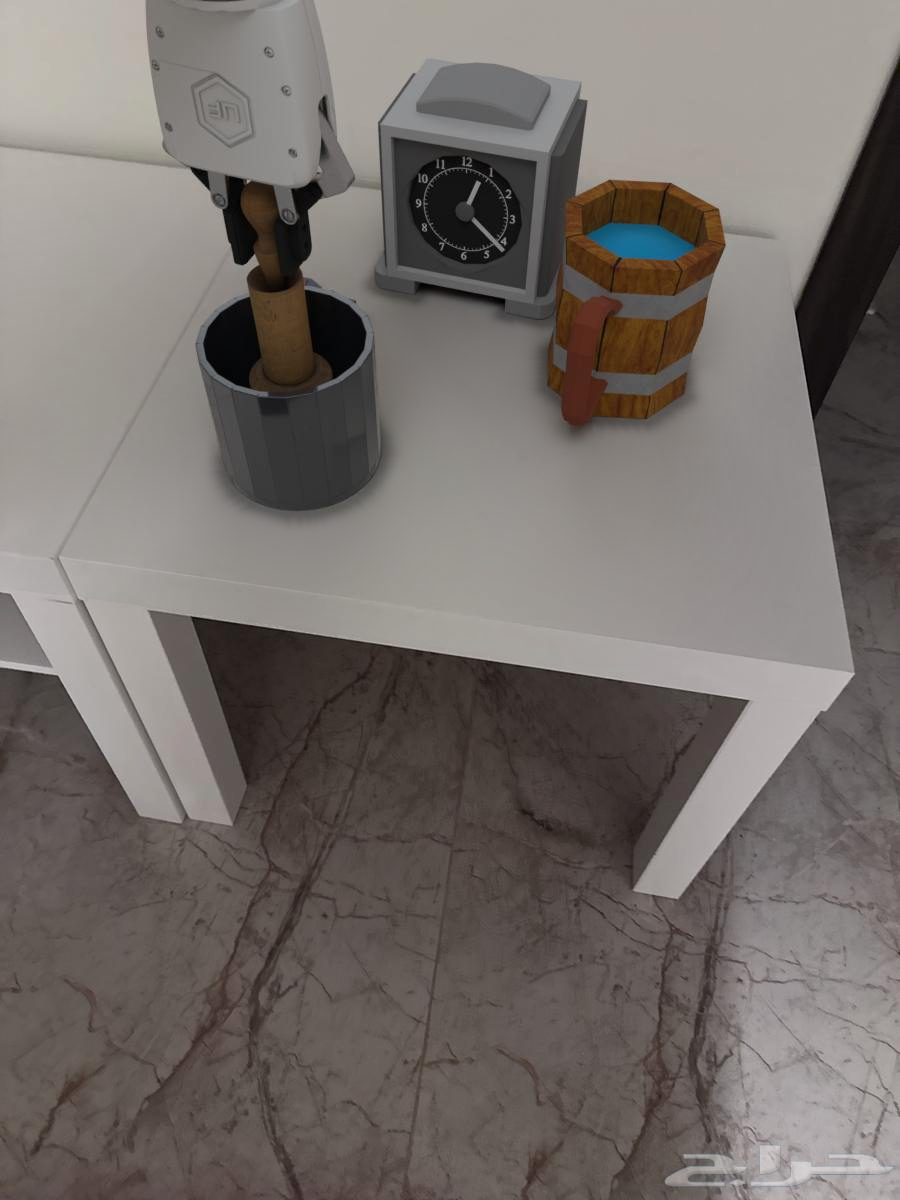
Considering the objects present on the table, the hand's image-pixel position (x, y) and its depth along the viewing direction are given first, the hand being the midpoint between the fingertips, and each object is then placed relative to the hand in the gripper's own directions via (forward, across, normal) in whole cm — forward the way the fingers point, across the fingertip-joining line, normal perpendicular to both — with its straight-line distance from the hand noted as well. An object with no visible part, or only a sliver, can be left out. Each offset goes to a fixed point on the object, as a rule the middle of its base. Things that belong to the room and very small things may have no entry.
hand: (272, 257), depth 64 cm
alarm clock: (+19, +5, +31) cm, 37 cm away
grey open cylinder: (+19, 0, 0) cm, 19 cm away
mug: (+19, +22, +17) cm, 34 cm away
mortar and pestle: (+13, 0, 0) cm, 13 cm away
